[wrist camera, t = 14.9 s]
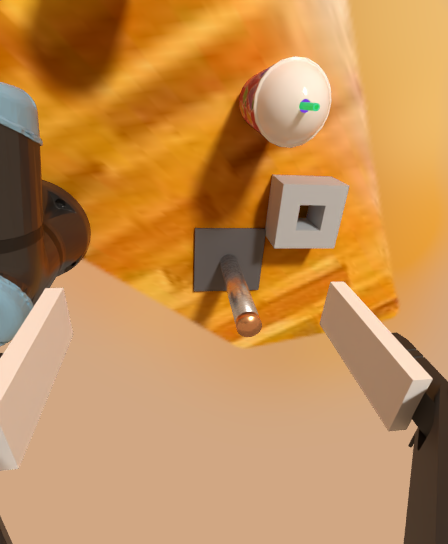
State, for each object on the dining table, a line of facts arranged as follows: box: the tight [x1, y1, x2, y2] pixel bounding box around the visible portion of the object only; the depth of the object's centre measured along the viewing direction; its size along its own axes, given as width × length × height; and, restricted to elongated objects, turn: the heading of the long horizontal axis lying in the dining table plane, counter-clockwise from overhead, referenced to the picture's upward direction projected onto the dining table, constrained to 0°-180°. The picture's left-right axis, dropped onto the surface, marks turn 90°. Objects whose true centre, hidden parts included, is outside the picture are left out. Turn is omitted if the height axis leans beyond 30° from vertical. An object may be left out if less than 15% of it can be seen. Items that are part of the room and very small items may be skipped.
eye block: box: [265, 175, 349, 248], centre depth 51 cm, size 10×10×6 cm
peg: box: [220, 254, 262, 337], centre depth 48 cm, size 3×3×18 cm
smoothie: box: [239, 56, 331, 148], centre depth 37 cm, size 8×8×20 cm
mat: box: [194, 228, 266, 291], centre depth 56 cm, size 12×12×1 cm
